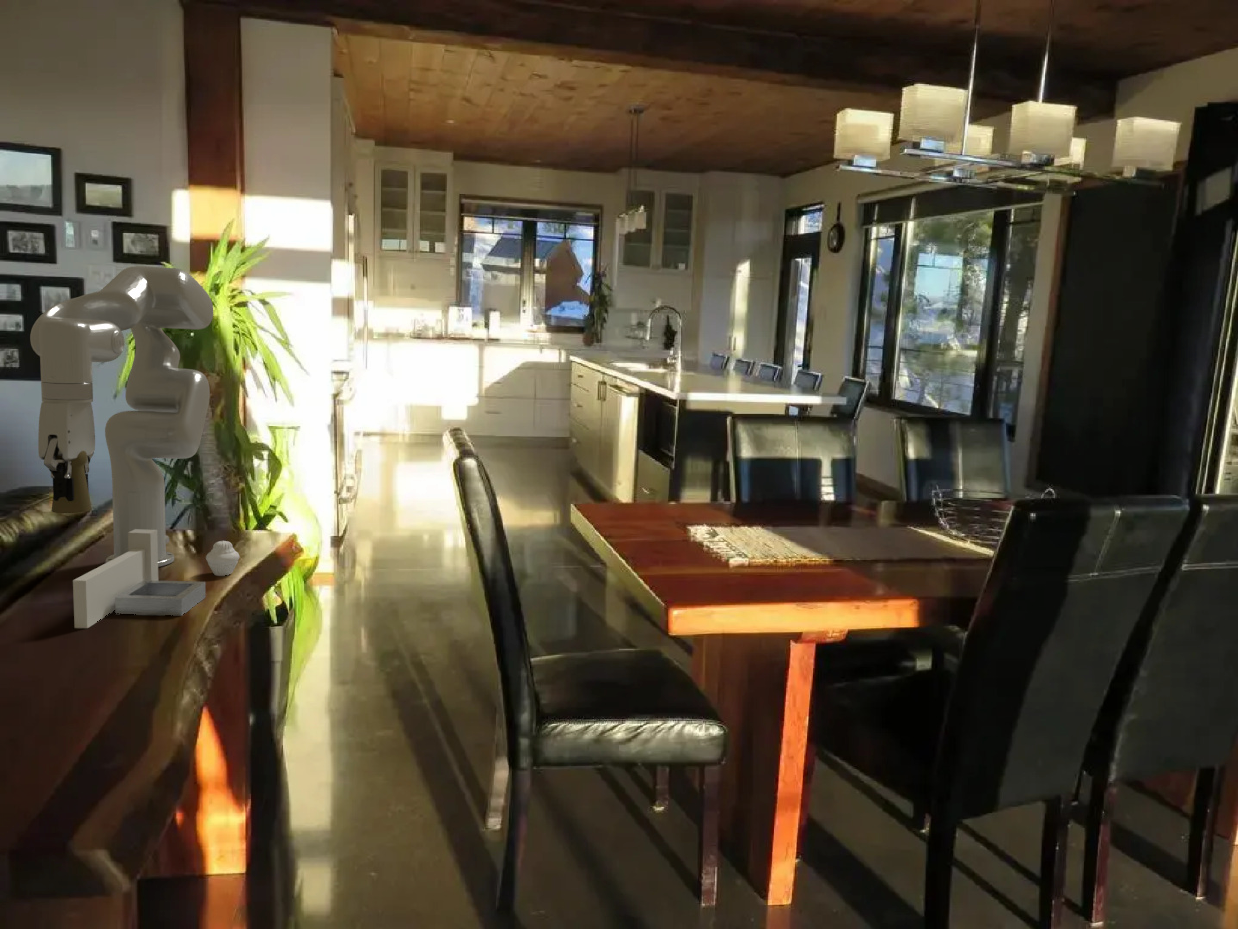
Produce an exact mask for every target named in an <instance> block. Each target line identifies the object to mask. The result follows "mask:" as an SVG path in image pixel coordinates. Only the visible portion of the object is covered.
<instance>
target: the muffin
mask: <svg viewBox="0 0 1238 929" xmlns="http://www.w3.org/2000/svg"><path fill="white" fill-rule="evenodd" d="M210 550H211V551H209V552H208V553H207V555H206V556H205V559H206V561H207V565H208V567H209V568H210V570H211V571H212V574H214V576H216V577H226V576H225V575H227V576H230V575H229V574H231V573H232V574H233V572H234V571H235V568H236V566H237V564H238V563H239V560H240V554H239V552H238V551H236V550H235V548H234V547H233V544H232V543H231V542H230V541H228V540H227V541H226V540H220V541H216V542H215V543H214V544H213V546H212V549H210ZM232 574H231V575H232Z"/></svg>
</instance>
